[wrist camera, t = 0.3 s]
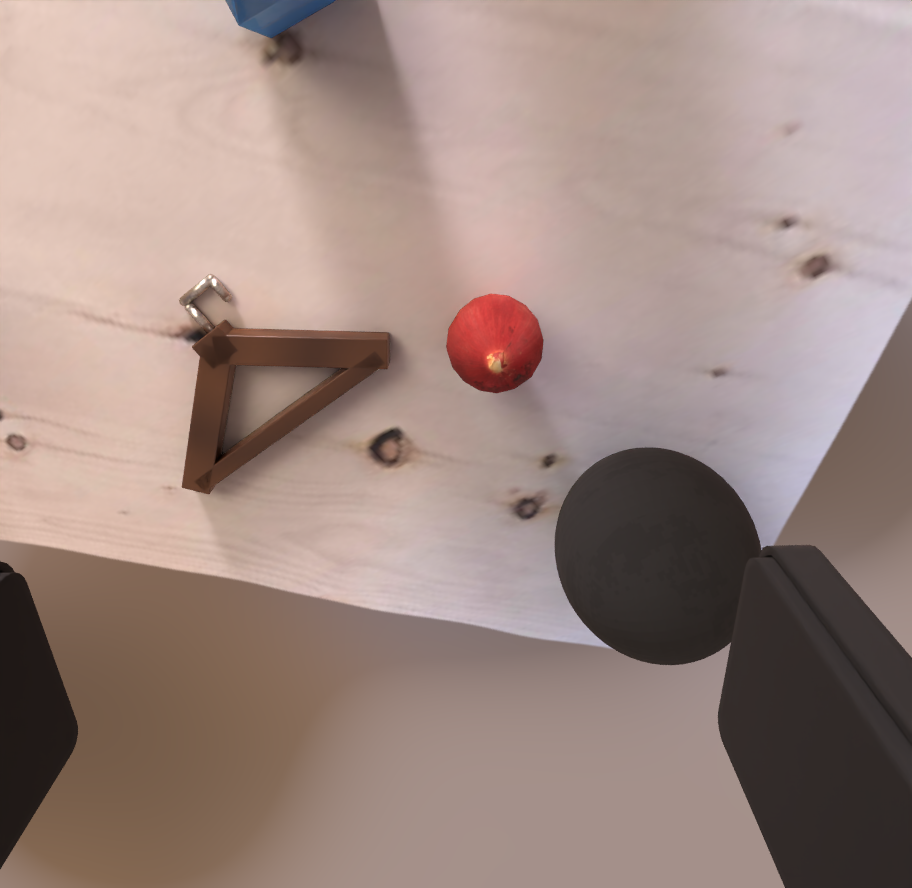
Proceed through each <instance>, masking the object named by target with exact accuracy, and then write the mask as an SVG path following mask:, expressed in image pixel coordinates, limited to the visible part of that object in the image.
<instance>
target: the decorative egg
mask: <svg viewBox="0 0 912 888" xmlns="http://www.w3.org/2000/svg"><path fill="white" fill-rule="evenodd" d="M760 552H761V546H760V541H759V538H758V534H757V531H756V528H755V525H754V522H753V520H752V518H751V516H750V514H749V512H748V510H747V508H746V506H745V505H744V503H743V502H742V500H741V499H740V498H739V496H738V495H737V493H736V492H735V491H734V489H733V488H732V487H731V486H730V485H729V484H728V483H727V482H726V481H725V480H724V479H723V478H722V477H721V476H720V475H718V474H717V473H716V472H715V471H714V470H712V469H711V468H709V467H708V466H706V465H705V464H703V463H702V462H700V461H698V460H696V459H694V458H692V457H690V456H687V455H685V454H682V453H679V452H676V451H672V450H667V449H661V448H635V449H628V450H625V451H621V452H618V453H615V454H612V455H610V456H608V457H606V458H604V459H602V460H600V461H599V462H597V463H596V464H594V465H593V466H592V467H590V468H589V469H588V470H587V471H586V472H585V473H583V474H582V475H581V477H580V478H579V479H578V480H577V481H576V482H575V484H574V485H573V486H572V488H571V489H570V491H569V493H568V494H567V496H566V498H565V500H564V503H563V505H562V507H561V510H560V513H559V517H558V521H557V526H556V532H555V557H556V564H557V570H558V574H559V578H560V581H561V584H562V587H563V589H564V592H565V594H566V596H567V598H568V600H569V602H570V604H571V606H572V607H573V609H574V611H575V612H576V613H577V615H578V616H579V618H580V619H581V620H582V621H583V623H584V624H585V625H586V626H587V627H588V628H589V629H590V630H591V631H592V632H593V633H594V634H595V635H596V636H597V637H598V638H599V639H601V640H602V641H603V642H604V643H606V644H607V645H608V646H610V647H611V648H613V649H615V650H616V651H618V652H620V653H622V654H624V655H626V656H629V657H631V658H634V659H637V660H640V661H643V662H647V663H652V664H660V665H679V664H686V663H691V662H695V661H698V660H701V659H704V658H706V657H708V656H711V655H713V654H715V653H716V652H718V651H720V650H721V649H722V648H724V647H725V646H727V645H728V644H729V643H730V642H731V641H732V635H733V630H734V625H735V619H736V614H737V609H738V603H739V598H740V592H741V587H742V582H743V576H744V571H745V567H746V563H747V561H748V560H749V559H750V558H759V554H760Z"/></svg>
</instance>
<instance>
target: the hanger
mask: <svg viewBox="0 0 912 888" xmlns="http://www.w3.org/2000/svg"><path fill="white" fill-rule="evenodd" d="M210 286H211V287H212V288H213V289H214V290H215V291H216V292H217V294H218V295H219V296H220V297H221V298H222V299H223V300H224V301H225V302H229V301H230V300H231V299H232V296H231V294H230V293H229V292H228V291H227V289H226V288H225V287H224V286H223V285H222V284H221V283H220V281H219V280H218V279H217V278H216V277H215V276H214V275H212V274H209V275H208V276H206V277H205V278H204V279H203V280H201V281H200V282H199V283H198V284H197V285H195V286H194V287H193V288H192V289H191V290H189V291H188V292H187V293H186V294H184V295H183V296H182V297H181V298H180V300H179V302H180V304H181V305H182V306H185V309H186V311H187V312H188V313H189V314H190V315H191V316H192V317H193V318H194V319H195V320H196V322H197V323H198V324H199V325H200V326H201V327H202V328H203V329H204V330H205V331H206V333H207V334H206V335H205V336H204V337H202V338H201V339H200V340H199V341H198V342H197V343H195V344H194V345H193V346H192V348H193V349H194V350H195V351H196V352H197V353H198V355H199V356H200V360H199V368H198V375H197V382H196V389H195V396H194V403H193V410H192V418H191V425H190V432H189V439H188V446H187V453H186V460H185V468H184V475H183V482H182V488H185V489H189V490H193V491H197V492H201V493H205V494H210V493H211V491H212V490H213V488H214V487H215V485H216V484H217V483H219V482H220V481H221V480H223V479H224V478H226V477H227V476H228V475H230V474H231V473H233V472H234V471H235V470H237V469H238V468H240V467H241V466H243V465H244V464H245V463H247V462H248V461H250V460H251V459H252V458H254V457H255V456H257V455H258V454H259V453H261V452H262V451H264V450H265V449H267V448H268V447H269V446H271V445H272V444H274V443H275V442H276V441H278V440H279V439H281V438H282V437H283V436H285V435H286V434H288V433H289V432H291V431H292V430H293V429H295V428H296V427H298V426H299V425H300V424H302V423H303V422H305V421H306V420H307V419H309V418H310V417H312V416H313V415H315V414H316V413H317V412H319V411H320V410H322V409H323V408H324V407H326V406H327V405H329V404H330V403H331V402H333V401H334V400H336V399H337V398H338V397H340V396H341V395H343V394H344V393H346V392H347V391H348V390H350V389H351V388H353V387H354V386H355V385H357V384H358V383H360V382H361V381H362V380H364V379H365V378H367V377H368V376H370V375H371V374H372V373H374V372H375V371H377V370H378V369H388V366H389V362H390V336H389V333H387V332H350V331H313V330H275V329H238V328H233V327H232V326H231V325H230V324H229V323H228V322H227V320H224V321H223V322H221V323H220V324H219V325H218V326H216V327H215V328H214V326H213V325H212V324H211V323H210V322H209V321H208V320H207V319H206V318H205V316H204V315H203V314H202V313H201V312H200V311H199V310H198V309H197V308H196V307H195V305H194V304H192V303H191V302H192V301H193V300H194V299H196V298H197V297H198V296H199V295H201V294H202V293H203V292H204V291H205V290H207V289H208V288H209V287H210ZM236 365H252V366H290V367H327V368H341V369H340V370H338V371H337V372H335V373H334V374H333V375H331V376H330V377H329V378H327V379H326V380H324V381H323V382H322V383H320V384H319V385H317V386H316V387H315V388H313V389H312V390H311V391H309V392H308V393H306V394H305V395H304V396H302V397H301V398H299V399H298V400H297V401H295V402H294V403H293V404H291V405H290V406H288V407H287V408H286V409H284V410H283V411H281V412H280V413H279V414H277V415H276V416H275V417H273V418H272V419H270V420H269V421H268V422H266V423H265V424H263V425H262V426H261V427H259V428H258V429H257V430H255V431H254V432H252V433H251V434H250V435H248V436H247V437H245V438H244V439H243V440H241V441H240V442H239V443H237V444H236V445H234V446H233V447H232V448H230V449H229V450H227V451H226V452H225V453H223V454H222V455H221V453H222V447H223V441H224V435H225V429H226V423H227V417H228V411H229V405H230V399H231V393H232V387H233V381H234V375H235V369H236Z"/></svg>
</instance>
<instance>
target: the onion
mask: <svg viewBox="0 0 912 888" xmlns="http://www.w3.org/2000/svg"><path fill="white" fill-rule="evenodd" d="M446 347H447V352H448V355H449V358H450V361H451V364H452V367H453V369H454V370H455V371H456V372H457V374H458V375H459V376H460V377H461V378H462V380H463V381H464V382H466V383H468V384H469V385H471V386H473V387H474V388H476V389H478V390H481V391H486V392H492V393H500V392H504V391H508V390H512V389H515V388H516V387H518V386H519V385H521V384H522V383H524V382H525V381H526V380H528V379H529V378H531V377H532V375H533V373H534V371H535V370H536V368H537V366H538V364H539V363H540V361H541V359H542V349H543V337H542V333H541V330H540V327H539V323H538V320H537V318H536V317H535V316H534V315H533V314H532V312H531V311H530V310H529V309H528V308H527V306H526V305H524V304H523V303H521V302H519V301H517V300H515V299H513V298H512V297H510V296H506V295H498V294H488V295H485V296H482V297H479V298H475V299H473V300H472V301H471V302H469V303H468V304H467V305H466V306H464V307H463V308H462V309H460V311H459V312H458V314H457V316H456V317H455V319H454V321H453V322H452V324H451V326H450V327H449V331H448V338H447V345H446Z"/></svg>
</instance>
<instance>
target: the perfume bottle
mask: <svg viewBox="0 0 912 888" xmlns="http://www.w3.org/2000/svg"><path fill="white" fill-rule="evenodd" d="M334 1H336V0H226V2H227V4H228V6H229V8H230V10H231V12H232V14H233V15H234V17H235V19H236V21H237V23H238V25H239V26H241V27H244V28H247V29H249V30H252V31H254V32H257V33H259V34H262V35H265V36H267V37H270V38H272V37H274V36H276V35H278V34H279V33H281V32H283V31H284V30H286V29H288V28H290V27H291V26H293V25H295V24H296V23H298V22H300V21H302V20H303V19H305V18H307V17H308V16H310V15H312V14H314V13H315V12H317V11H319V10H320V9H322V8H324V7H326V6H327V5H329V4H331V3H332V2H334Z"/></svg>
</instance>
